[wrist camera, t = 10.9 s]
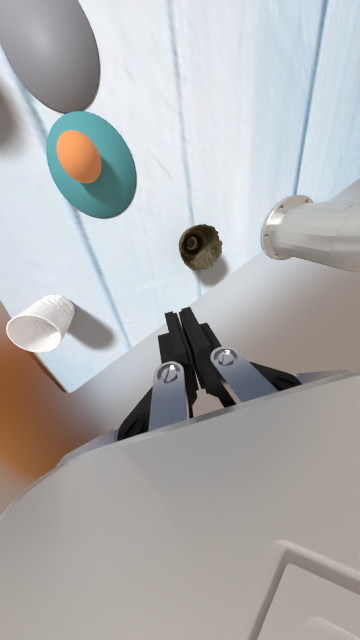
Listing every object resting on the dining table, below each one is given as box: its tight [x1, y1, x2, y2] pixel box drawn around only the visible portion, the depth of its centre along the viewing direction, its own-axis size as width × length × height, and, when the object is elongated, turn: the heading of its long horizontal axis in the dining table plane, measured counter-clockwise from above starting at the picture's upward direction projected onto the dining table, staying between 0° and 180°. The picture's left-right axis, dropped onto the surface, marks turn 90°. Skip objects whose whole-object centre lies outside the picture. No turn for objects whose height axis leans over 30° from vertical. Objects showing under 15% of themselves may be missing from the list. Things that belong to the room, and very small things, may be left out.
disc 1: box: [0, 0, 99, 113], centre depth 22 cm, size 11×11×1 cm
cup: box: [179, 224, 222, 271], centre depth 33 cm, size 8×7×8 cm
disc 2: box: [47, 111, 136, 218], centre depth 28 cm, size 13×13×1 cm
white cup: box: [6, 295, 75, 352], centre depth 34 cm, size 8×8×10 cm
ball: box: [57, 130, 102, 183], centre depth 25 cm, size 6×6×6 cm
